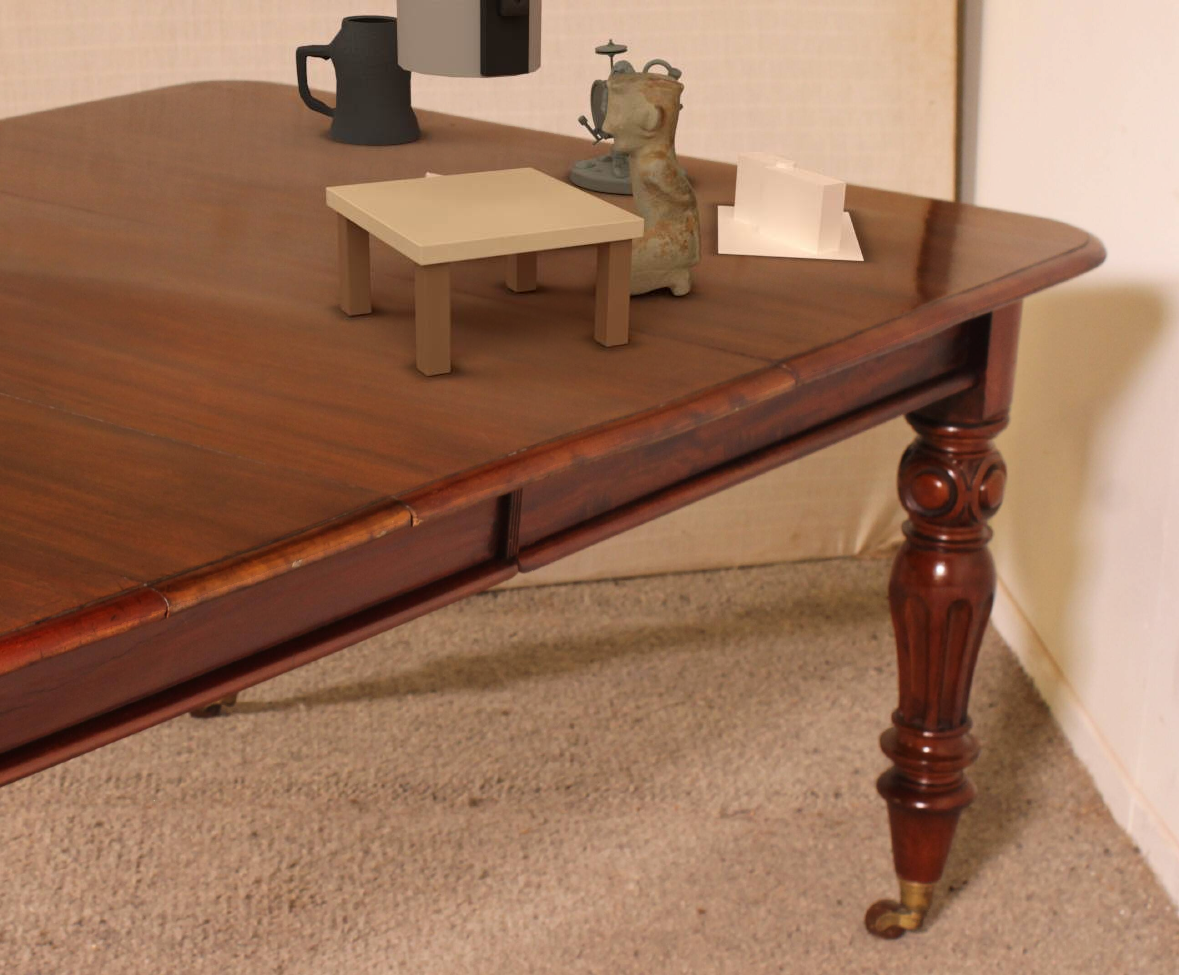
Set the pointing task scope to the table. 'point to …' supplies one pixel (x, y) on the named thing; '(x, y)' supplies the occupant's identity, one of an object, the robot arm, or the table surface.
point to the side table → (480, 243)
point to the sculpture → (655, 180)
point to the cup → (451, 37)
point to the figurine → (609, 169)
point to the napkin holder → (786, 213)
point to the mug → (364, 83)
